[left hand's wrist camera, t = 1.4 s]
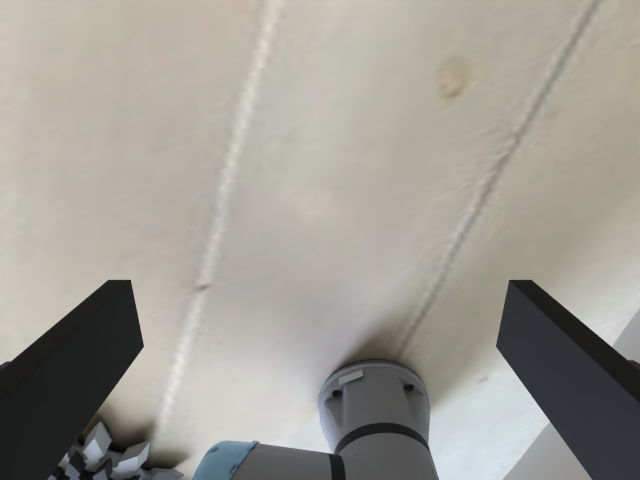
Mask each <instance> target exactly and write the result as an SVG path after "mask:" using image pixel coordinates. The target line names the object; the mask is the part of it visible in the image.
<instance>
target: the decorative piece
mask: <svg viewBox="0 0 640 480" xmlns="http://www.w3.org/2000/svg"><path fill="white" fill-rule="evenodd" d="M111 442H113V440H112V438H111V437H110V435H109V433H108V431H107V429H106V427H105V425H104V424H103V423H102V422H100V421H99V423H98V424H97V425H96V426H95V427H94V428H93V430H92V431H91V432H90V433H89V434H88V436H87V437H86V440H85V444H84V446H83V445H80V444H79V443H78V438H77V440H76V441H75V443H74V444H73V445H72V447H71V448H70V449H69V451H68V452H67V454H66V455H65V456H64V458H63V459H62V460H61V462H60V463H59V465H58V466H57V467H56V469H55V470H54V472H53V473H52V474H51V476H50V477H49V478H48V480H177V479H179V478H180V477H182V476H183V474H181V473H180V472H178V471H176V470H174V469H163V468H152V469H150V470H144V469H142V468H141V467H140V466H141V465H142V464H143V463H144V462H145V461H146V460H147V457H148V451H149V445H150V441H145V442H142V443H139V444H136V445H133V446H130V447H127V450H126V452H124V453H120V452H116V451H113V450H110V449H109V448H108V447H109V445H110V443H111Z"/></svg>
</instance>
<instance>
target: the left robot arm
mask: <svg viewBox="0 0 640 480" xmlns="http://www.w3.org/2000/svg"><path fill="white" fill-rule="evenodd" d="M143 347H144V344H143V339H142V334H141V329H140V324H139V319H138V314H137V309H136V304H135V299H134V294H133V289H132V284H131V280H108V281H107V282H106V283H104V284H103V285H102V286H101V287H100V288H98V289H97V290H96V291H95V292H94V293H92V294H91V295H90V296H89V297H88V298H86V299H85V300H84V301H83V302H82V303H80V304H79V305H78V306H77V307H76V308H74V309H73V310H72V311H71V312H70V313H68V314H67V315H66V316H65V317H64V318H63V319H61V320H60V321H59V322H58V323H57V324H55V325H54V326H53V327H52V328H51V329H49V330H48V331H47V332H46V333H45V334H43V335H42V336H41V337H40V338H39V339H37V340H36V341H35V342H34V343H33V344H31V345H30V346H29V347H28V348H27V349H25V350H24V351H23V352H22V353H21V354H20V355H18V356H17V357H16V358H15V359H14V360H12V361H11V362H5V363H4V364H2V365H0V480H48V478H49V477H50V476H51V474H52V473H53V472H54V470H55V469H56V467H57V466H58V465H59V463H60V462H61V460H62V459H63V458H64V456H65V455H66V454H67V452H68V451H69V449H70V448H71V447H72V445H73V444H74V443H75V441H76V440H77V438H78V437H79V436H80V434H81V433H82V431H83V430H84V429H85V427H86V426H87V425H88V423H89V422H90V420H91V419H92V418H93V416H94V415H95V413H96V412H97V411H98V409H99V408H100V407H101V405H102V404H103V402H104V401H105V400H106V398H107V397H108V395H109V394H110V393H111V391H112V390H113V389H114V387H115V386H116V384H117V383H118V382H119V380H120V379H121V377H122V376H123V375H124V373H125V372H126V371H127V369H128V368H129V366H130V365H131V364H132V362H133V361H134V360H135V358H136V357H137V355H138V354H139V353H140V351H141V350H142V348H143ZM496 347H497V348H498V350H499V351H500V353H501V354H502V355H503V357H504V358H505V360H506V361H507V362H508V364H509V365H510V366H511V368H512V369H513V371H514V372H515V373H516V375H517V376H518V377H519V379H520V380H521V382H522V383H523V384H524V386H525V387H526V389H527V390H528V391H529V393H530V394H531V395H532V397H533V398H534V400H535V401H536V402H537V404H538V405H539V407H540V408H541V409H542V411H543V412H544V413H545V415H546V416H547V418H548V419H549V420H550V422H551V423H552V425H553V426H554V427H555V429H556V430H557V431H558V433H559V434H560V436H561V437H562V438H563V440H564V441H565V443H566V444H567V445H568V447H569V448H570V449H571V451H572V452H573V454H574V455H575V456H576V458H577V459H578V460H579V462H580V463H581V465H582V466H583V467H584V469H585V470H586V472H587V473H588V474H589V476H590V477H591V478H592V480H640V364H639V363H637V362H635V361H634V360H626V359H625V358H624V357H623V356H622V355H620V354H619V353H618V352H617V351H616V350H615V349H613V348H612V347H611V346H610V345H609V344H607V343H606V342H605V341H604V340H603V339H601V338H600V337H599V336H598V335H597V334H595V333H594V332H593V331H592V330H591V329H589V328H588V327H587V326H586V325H585V324H583V323H582V322H581V321H580V320H579V319H577V318H576V317H575V316H574V315H573V314H572V313H570V312H569V311H568V310H567V309H566V308H564V307H563V306H562V305H561V304H560V303H558V302H557V301H556V300H555V299H554V298H552V297H551V296H550V295H549V294H548V293H546V292H545V291H544V290H543V289H542V288H540V287H539V286H538V285H537V284H536V283H534V282H533V281H532V280H509V284H508V289H507V294H506V299H505V304H504V309H503V314H502V319H501V324H500V329H499V334H498V339H497V344H496ZM318 411H319V419H320V423H321V427H322V429H323V432H324V434H325V437H326V439H327V442H328V445H329V447H330V450H331V452H332V454H329V453H322V452H315V451H308V450H301V449H294V448H287V447H280V446H273V445H266V444H259V442H258V441H253V442H251V443H250V442H238V441H221V442H219V443H217V444H215V445H214V446H212V447H211V448H210V449H209V450H208V452H207V453H206V454H205V456H204V457H203V459H202V461H201V462H200V464H199V466H198V468H197V470H196V472H195V474H194V476H193V478H192V480H439V478H438V475H437V472H436V469H435V465H434V462H433V459H432V456H431V453H430V449H429V446H428V439H429V421H430V405H429V399H428V396H427V393H426V390H425V387H424V385H423V383H422V381H421V380H420V379H419V377H418V376H417V375H416V374H415V373H414V372H412V371H411V370H410V369H408V368H406V367H405V366H403V365H400V364H398V363H395V362H391V361H386V360H365V361H359V362H356V363H352V364H350V365H347V366H345V367H343V368H341V369H340V370H338V371H337V372H335V373H334V374H333V375H332V376H331V377H330V378H329V379H328V380H327V381H326V383H325V384H324V386H323V387H322V389H321V392H320V395H319V406H318Z"/></svg>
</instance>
